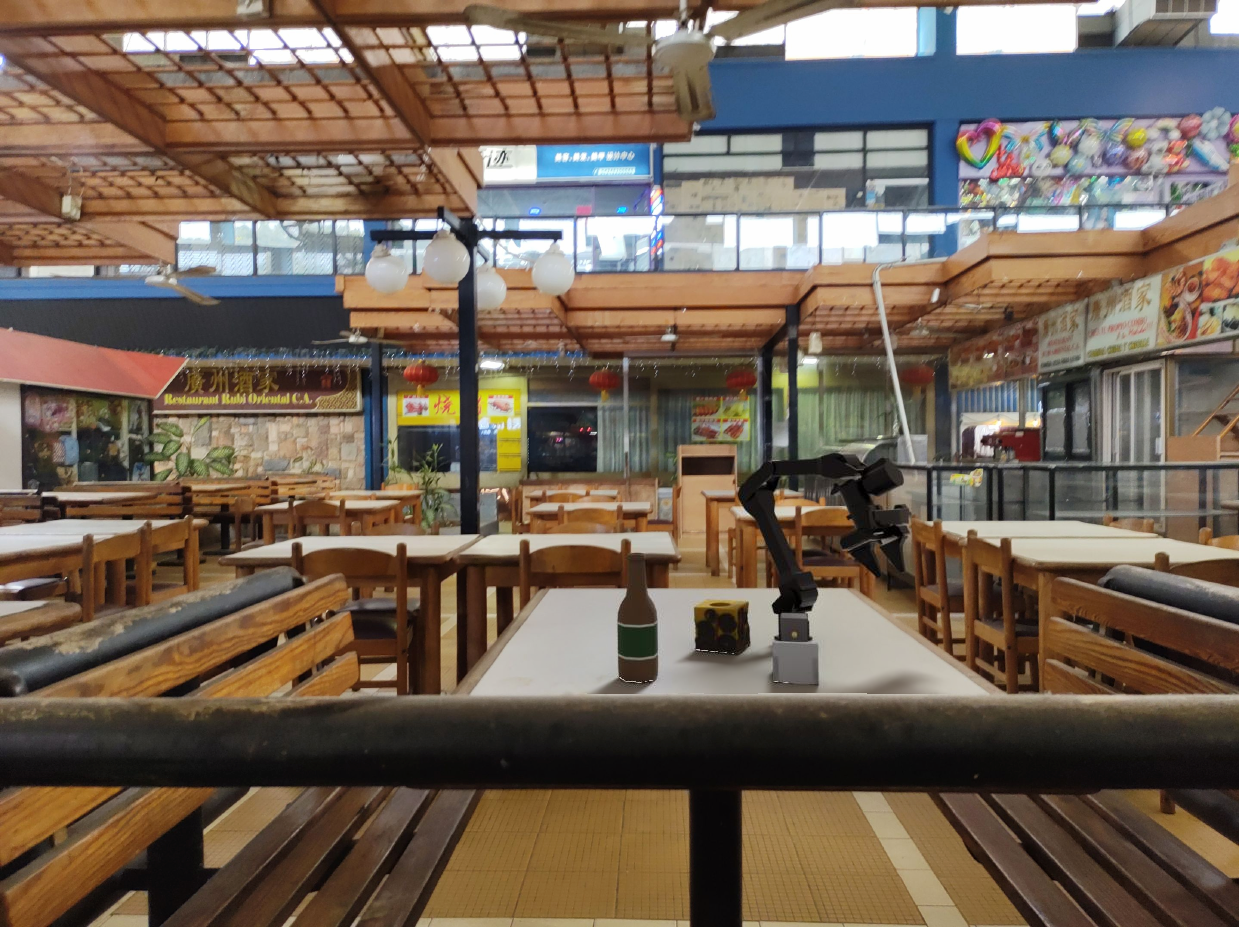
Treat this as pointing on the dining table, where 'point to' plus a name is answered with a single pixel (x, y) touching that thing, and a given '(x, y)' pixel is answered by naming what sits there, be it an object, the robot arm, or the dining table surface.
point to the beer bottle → (637, 626)
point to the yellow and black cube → (722, 625)
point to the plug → (794, 627)
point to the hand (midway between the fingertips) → (891, 574)
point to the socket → (795, 662)
